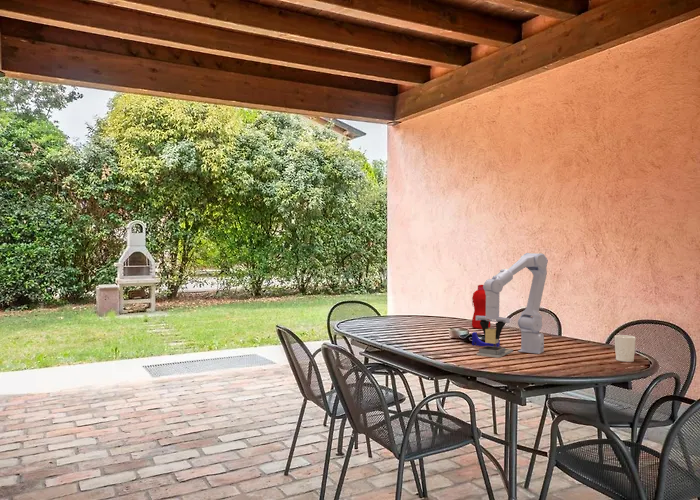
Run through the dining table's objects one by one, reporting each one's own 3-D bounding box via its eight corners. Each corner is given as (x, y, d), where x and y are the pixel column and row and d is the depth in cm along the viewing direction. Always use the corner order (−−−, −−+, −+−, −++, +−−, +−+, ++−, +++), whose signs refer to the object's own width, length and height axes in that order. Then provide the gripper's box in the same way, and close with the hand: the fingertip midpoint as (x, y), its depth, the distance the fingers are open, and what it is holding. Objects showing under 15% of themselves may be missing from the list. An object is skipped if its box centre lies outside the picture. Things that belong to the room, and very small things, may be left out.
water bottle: (477, 326, 331) (477, 283, 331) (492, 328, 323) (493, 284, 322) (467, 327, 325) (467, 284, 325) (482, 329, 317) (483, 285, 317)
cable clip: (499, 346, 266) (499, 333, 266) (497, 347, 262) (497, 335, 262) (474, 344, 271) (474, 331, 271) (472, 345, 267) (472, 332, 267)
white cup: (624, 362, 230) (624, 338, 230) (610, 358, 238) (610, 335, 238) (639, 361, 232) (640, 337, 232) (625, 358, 240) (625, 334, 240)
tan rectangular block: (498, 342, 245) (498, 328, 245) (495, 343, 241) (495, 329, 241) (488, 341, 247) (488, 327, 247) (485, 342, 243) (485, 328, 243)
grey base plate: (512, 351, 252) (513, 345, 252) (499, 357, 237) (499, 351, 237) (491, 348, 258) (491, 342, 258) (476, 355, 243) (476, 348, 243)
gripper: (473, 306, 245) (472, 337, 245) (505, 308, 237) (505, 341, 237) (479, 305, 251) (478, 335, 251) (511, 307, 242) (510, 339, 242)
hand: (492, 338), depth 244 cm, fingers closed on tan rectangular block, 5 cm apart
